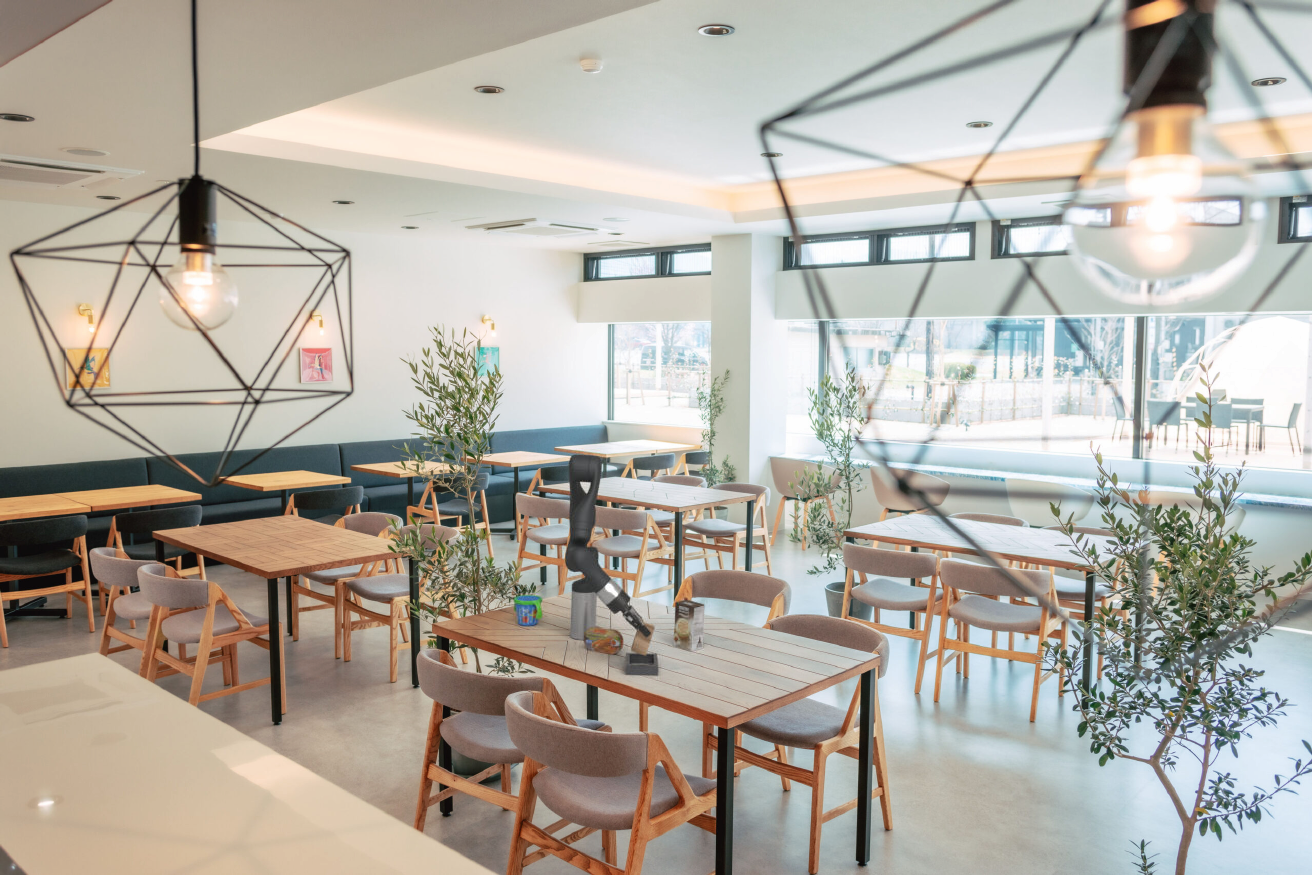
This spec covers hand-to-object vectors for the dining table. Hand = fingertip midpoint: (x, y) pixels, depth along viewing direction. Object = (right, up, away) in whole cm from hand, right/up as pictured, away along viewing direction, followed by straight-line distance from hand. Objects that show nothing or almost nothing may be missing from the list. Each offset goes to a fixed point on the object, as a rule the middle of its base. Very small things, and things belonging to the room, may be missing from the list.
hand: (648, 633), depth 301 cm
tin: (-16, -10, +18) cm, 26 cm away
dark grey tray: (-2, -12, +1) cm, 12 cm away
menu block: (-3, -6, 0) cm, 7 cm away
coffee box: (+14, -11, +27) cm, 32 cm away
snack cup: (-47, -8, +51) cm, 70 cm away
